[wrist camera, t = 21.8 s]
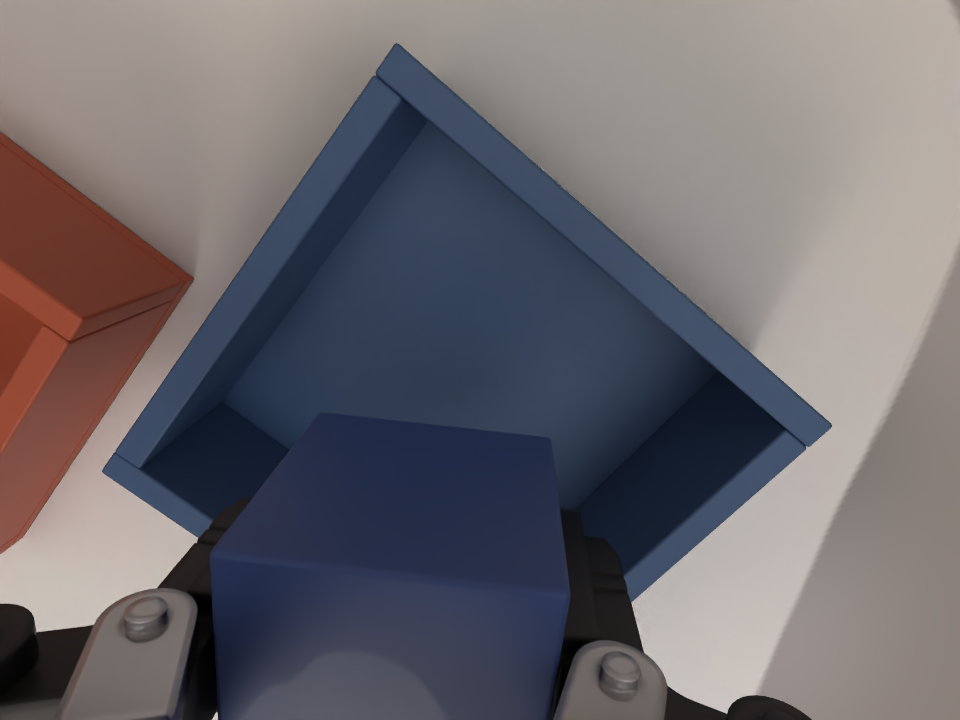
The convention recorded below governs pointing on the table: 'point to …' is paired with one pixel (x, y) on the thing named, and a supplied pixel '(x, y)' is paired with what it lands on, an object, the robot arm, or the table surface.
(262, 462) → the slate bin
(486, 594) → the blue block
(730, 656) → the table surface
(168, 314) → the terracotta bin
